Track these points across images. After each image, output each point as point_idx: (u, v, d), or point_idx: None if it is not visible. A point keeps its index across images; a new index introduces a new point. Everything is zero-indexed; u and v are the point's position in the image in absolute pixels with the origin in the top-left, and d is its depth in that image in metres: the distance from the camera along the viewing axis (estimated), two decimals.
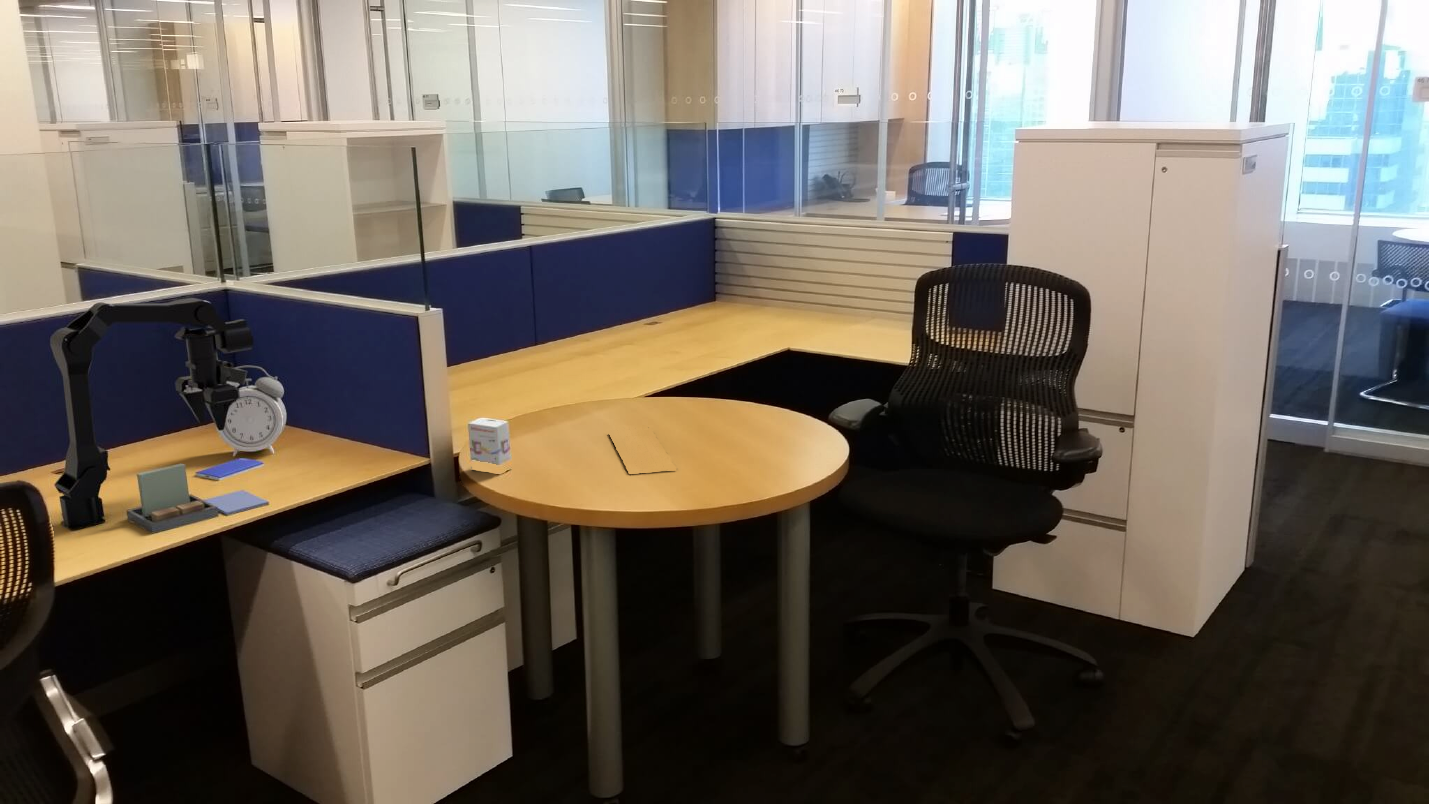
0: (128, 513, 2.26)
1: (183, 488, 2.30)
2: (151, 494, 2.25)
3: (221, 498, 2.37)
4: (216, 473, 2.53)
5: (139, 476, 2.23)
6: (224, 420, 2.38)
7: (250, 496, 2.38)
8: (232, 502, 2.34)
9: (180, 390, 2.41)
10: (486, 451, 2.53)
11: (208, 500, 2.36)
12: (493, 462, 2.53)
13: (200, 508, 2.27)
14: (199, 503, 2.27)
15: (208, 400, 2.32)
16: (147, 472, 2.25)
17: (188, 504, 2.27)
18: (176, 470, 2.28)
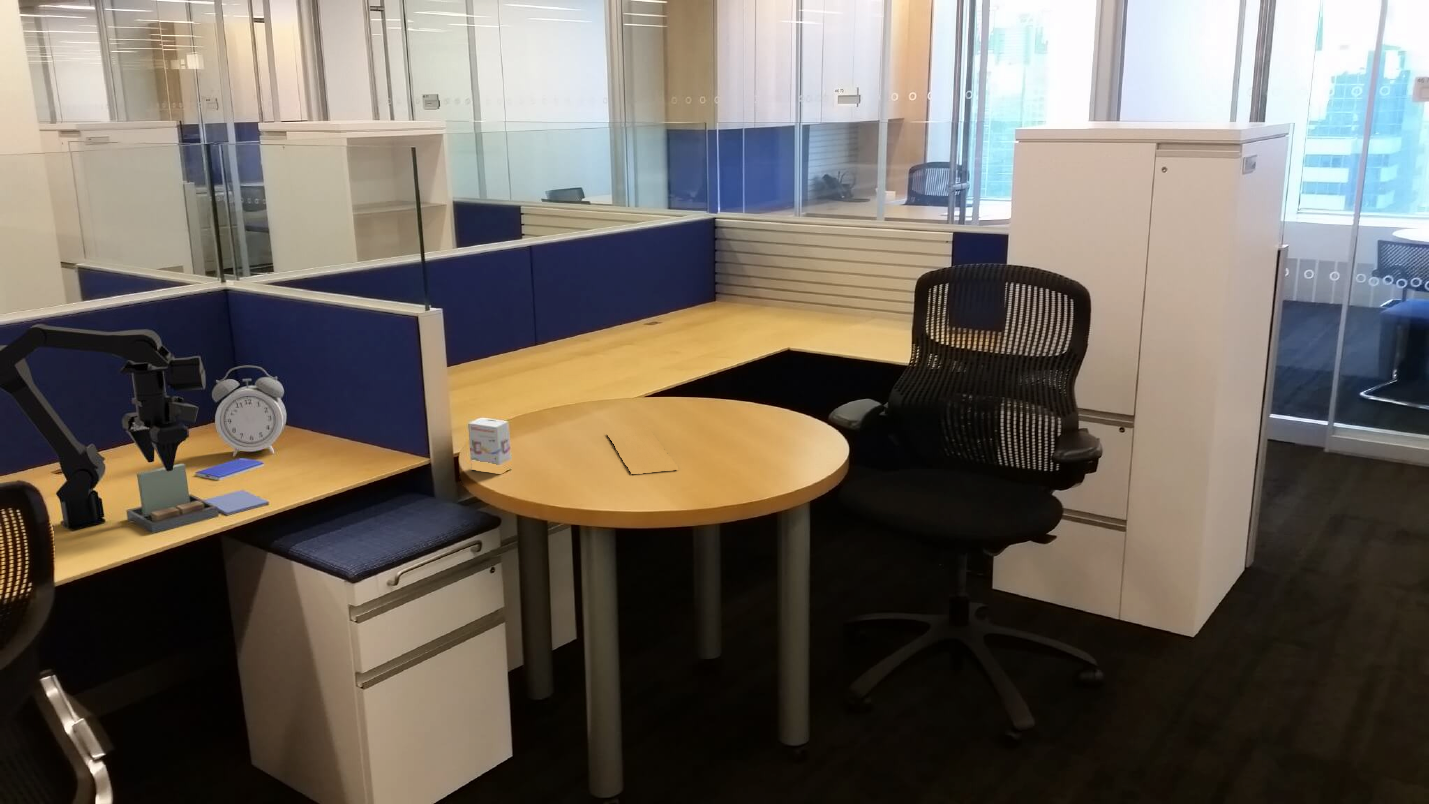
0: (128, 513, 2.26)
1: (183, 488, 2.30)
2: (151, 494, 2.25)
3: (221, 498, 2.37)
4: (216, 473, 2.53)
5: (139, 476, 2.23)
6: (173, 460, 2.23)
7: (250, 496, 2.38)
8: (232, 502, 2.34)
9: (127, 427, 2.27)
10: (486, 450, 2.53)
11: (208, 500, 2.36)
12: (493, 462, 2.53)
13: (200, 508, 2.27)
14: (199, 503, 2.27)
15: (154, 440, 2.18)
16: (147, 472, 2.25)
17: (188, 504, 2.27)
18: (176, 470, 2.28)
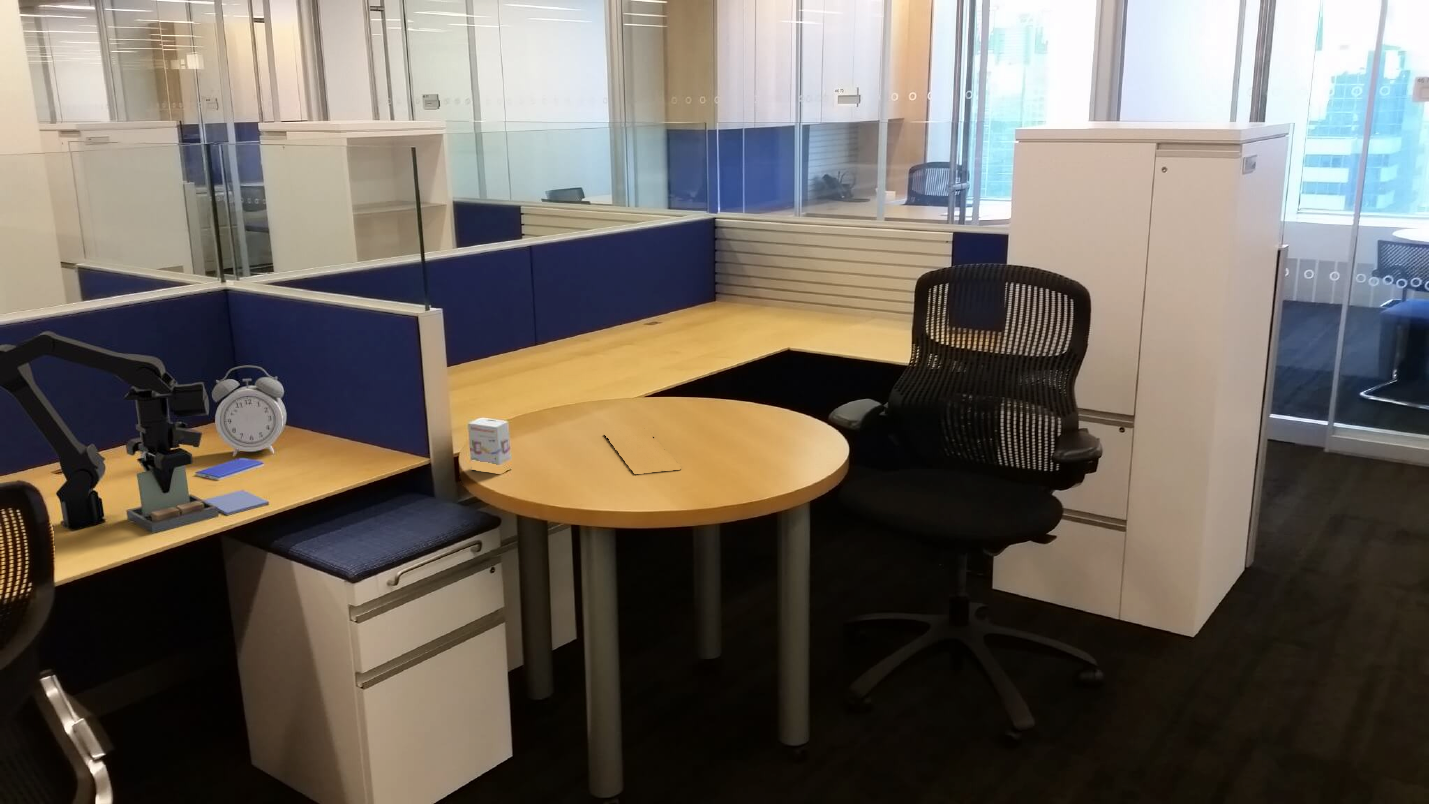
0: (128, 513, 2.26)
1: (183, 488, 2.30)
2: (151, 493, 2.25)
3: (221, 498, 2.37)
4: (216, 473, 2.54)
5: (139, 476, 2.23)
6: (169, 482, 2.27)
7: (250, 496, 2.38)
8: (232, 502, 2.34)
9: (131, 453, 2.28)
10: (486, 450, 2.53)
11: (208, 500, 2.36)
12: (493, 462, 2.53)
13: (200, 508, 2.27)
14: (199, 503, 2.27)
15: (158, 467, 2.19)
16: (147, 472, 2.25)
17: (188, 504, 2.27)
18: (176, 470, 2.28)
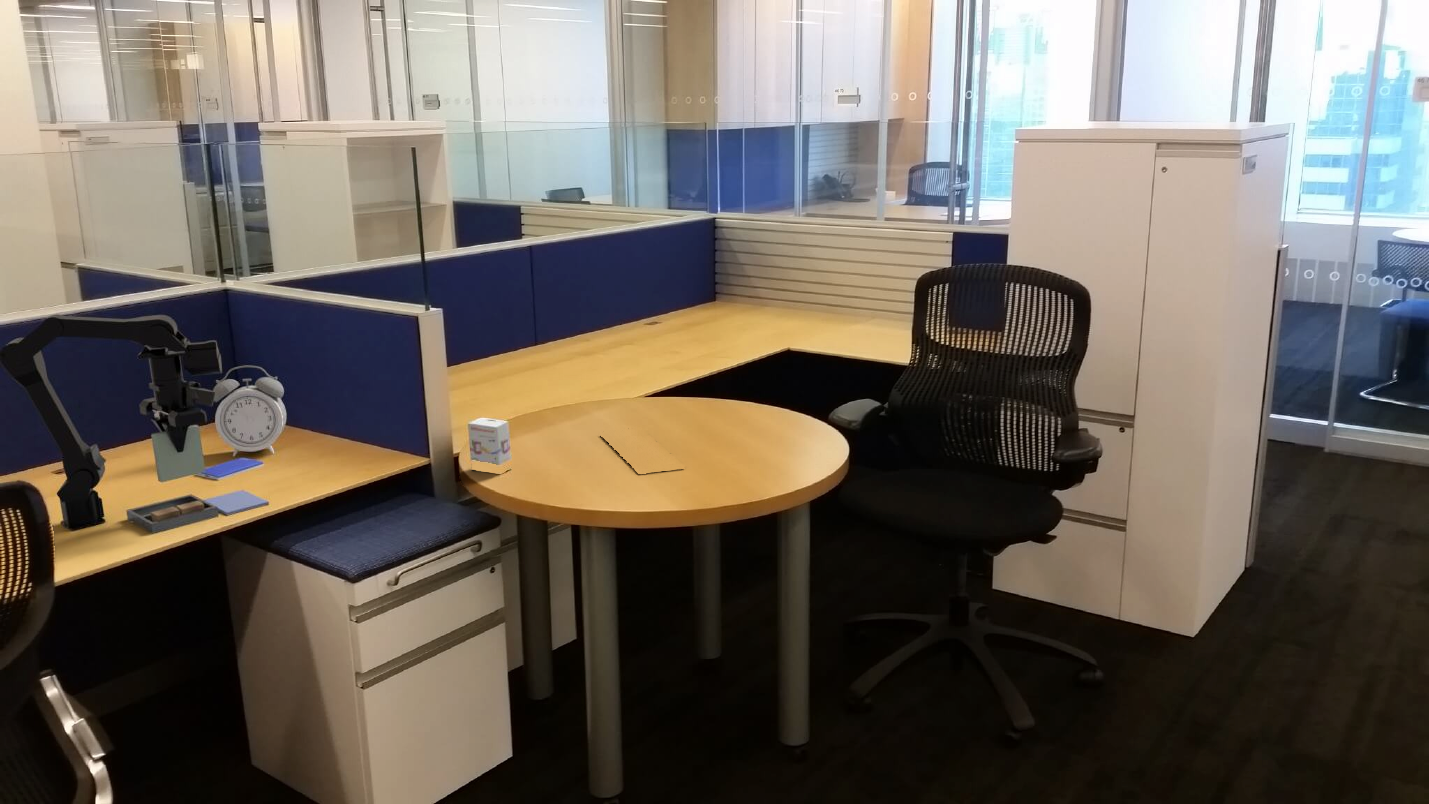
0: (128, 513, 2.26)
1: (197, 449, 2.30)
2: (166, 454, 2.25)
3: (221, 498, 2.37)
4: (216, 472, 2.54)
5: (153, 436, 2.23)
6: (183, 442, 2.26)
7: (250, 496, 2.38)
8: (232, 502, 2.34)
9: (144, 413, 2.28)
10: (486, 451, 2.53)
11: (208, 500, 2.36)
12: (493, 462, 2.53)
13: (200, 508, 2.27)
14: (199, 503, 2.27)
15: (172, 424, 2.19)
16: (161, 433, 2.24)
17: (188, 504, 2.27)
18: (190, 432, 2.28)
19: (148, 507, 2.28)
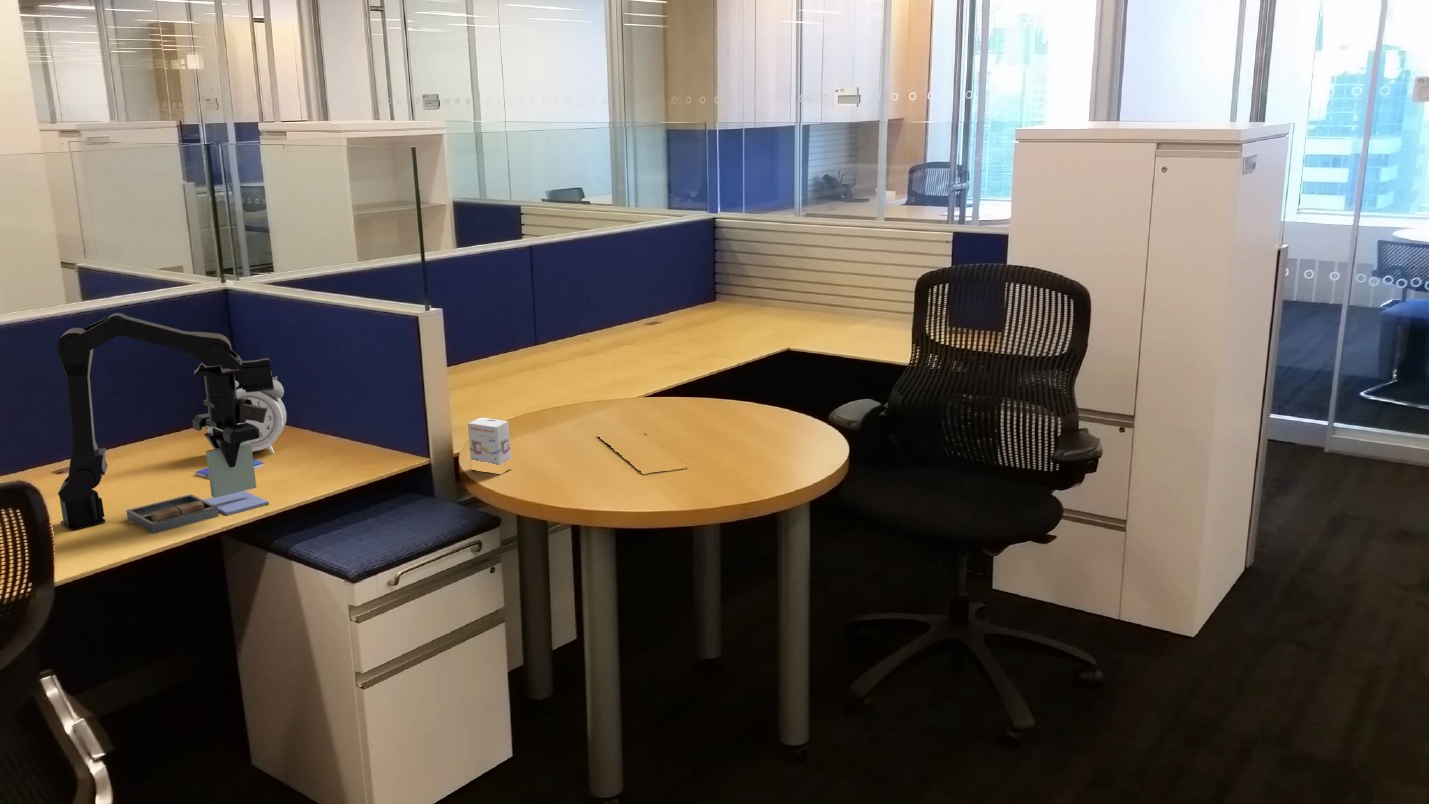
0: (128, 513, 2.26)
1: (249, 466, 2.36)
2: (219, 471, 2.31)
3: (221, 498, 2.37)
4: None
5: (208, 453, 2.29)
6: (235, 457, 2.32)
7: (250, 496, 2.38)
8: (232, 502, 2.34)
9: (198, 429, 2.33)
10: (486, 450, 2.53)
11: (208, 500, 2.36)
12: (493, 462, 2.53)
13: (200, 508, 2.26)
14: (199, 503, 2.27)
15: (227, 440, 2.24)
16: (216, 449, 2.30)
17: (188, 504, 2.27)
18: (243, 448, 2.34)
19: (148, 507, 2.28)
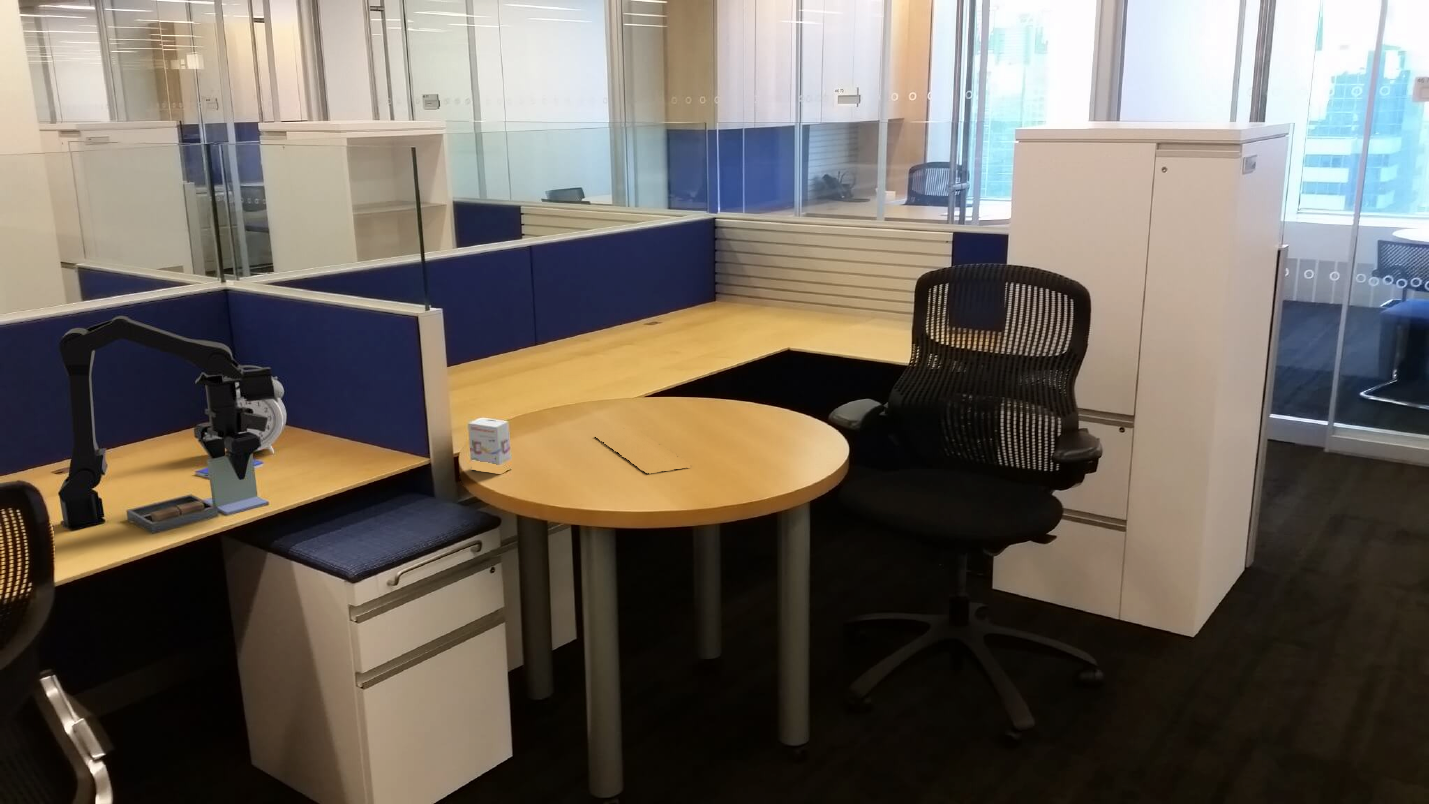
0: (128, 513, 2.26)
1: (250, 474, 2.36)
2: (221, 480, 2.32)
3: None
4: None
5: (209, 462, 2.30)
6: (245, 469, 2.30)
7: None
8: None
9: (199, 437, 2.34)
10: (486, 450, 2.53)
11: (208, 500, 2.36)
12: (493, 462, 2.53)
13: (200, 508, 2.26)
14: (199, 503, 2.27)
15: (229, 450, 2.25)
16: (217, 459, 2.31)
17: (188, 504, 2.27)
18: None
19: (148, 507, 2.28)
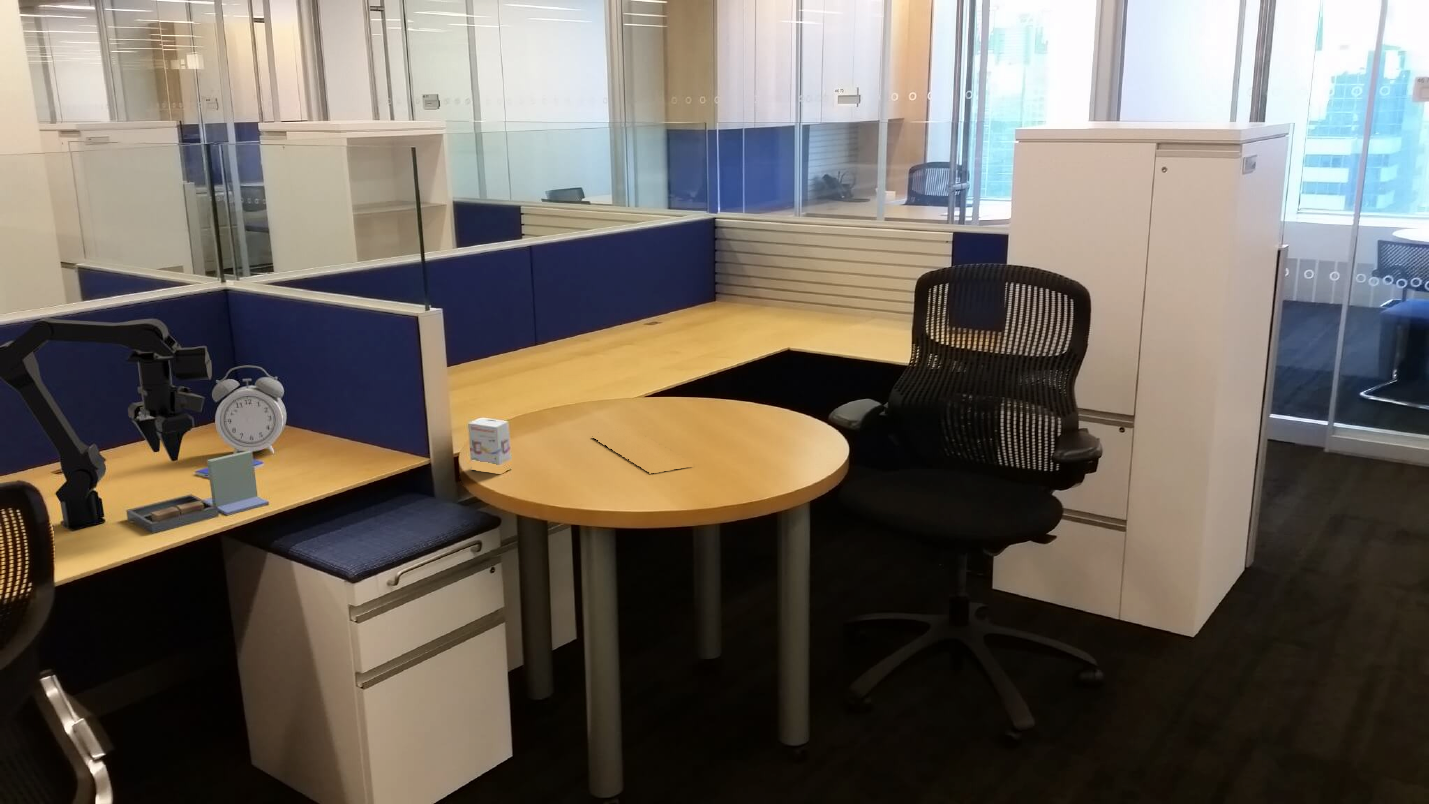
0: (128, 513, 2.26)
1: (250, 474, 2.36)
2: (221, 480, 2.32)
3: None
4: None
5: (209, 462, 2.30)
6: (178, 450, 2.22)
7: None
8: None
9: (132, 417, 2.26)
10: (486, 450, 2.53)
11: (208, 500, 2.36)
12: (493, 462, 2.53)
13: (199, 508, 2.26)
14: (199, 503, 2.27)
15: (159, 429, 2.17)
16: (217, 459, 2.31)
17: (188, 504, 2.27)
18: (244, 457, 2.35)
19: (148, 507, 2.28)
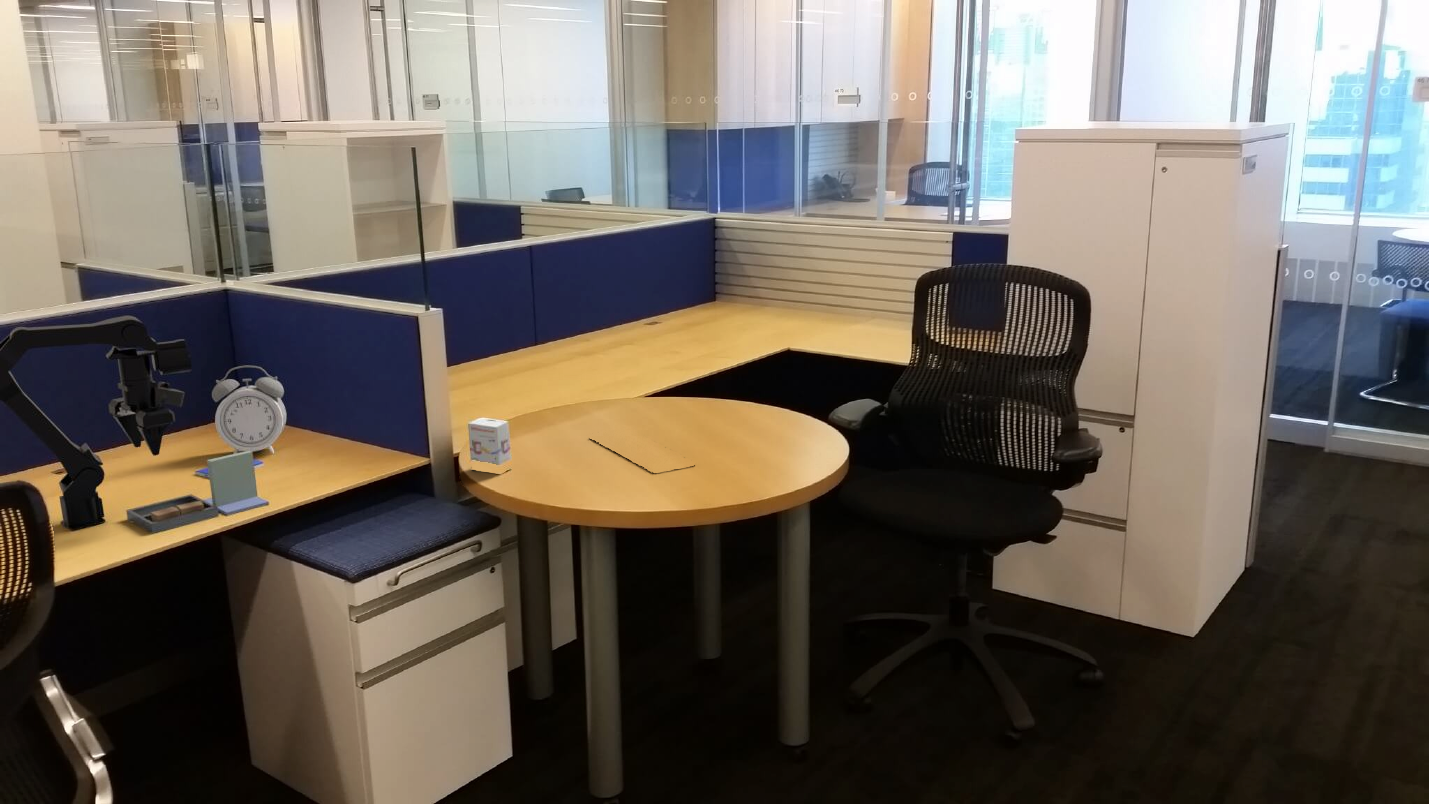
0: (128, 513, 2.26)
1: (250, 474, 2.36)
2: (221, 480, 2.32)
3: None
4: None
5: (209, 462, 2.30)
6: (159, 445, 2.25)
7: None
8: None
9: (113, 413, 2.29)
10: (486, 451, 2.53)
11: (208, 500, 2.36)
12: (493, 462, 2.53)
13: (199, 508, 2.26)
14: (199, 503, 2.27)
15: (140, 424, 2.20)
16: (217, 459, 2.31)
17: (188, 504, 2.27)
18: (244, 457, 2.35)
19: (148, 507, 2.28)
